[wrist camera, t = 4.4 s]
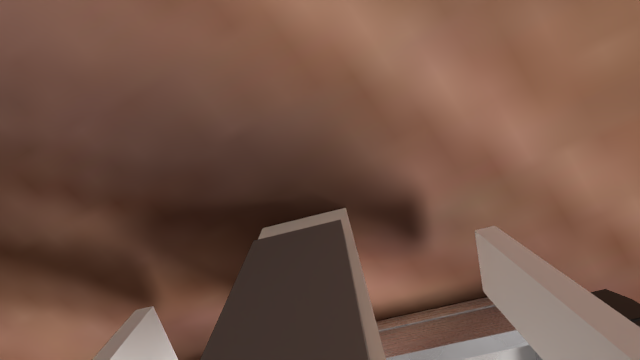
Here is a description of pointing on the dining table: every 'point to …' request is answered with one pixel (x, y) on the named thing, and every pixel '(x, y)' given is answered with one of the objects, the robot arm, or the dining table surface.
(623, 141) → the dining table surface
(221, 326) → the block
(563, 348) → the robot arm
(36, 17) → the dining table surface
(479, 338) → the rail
